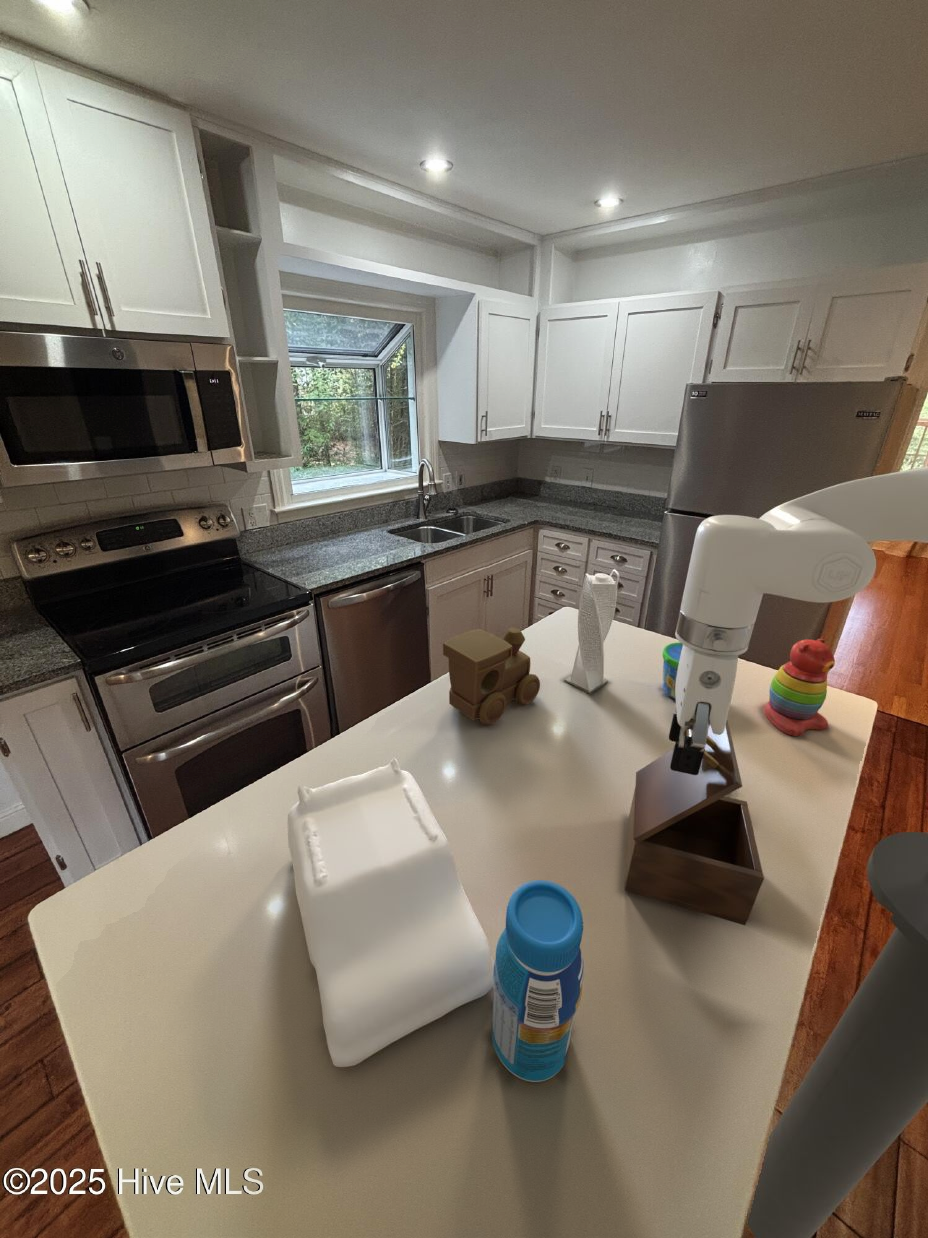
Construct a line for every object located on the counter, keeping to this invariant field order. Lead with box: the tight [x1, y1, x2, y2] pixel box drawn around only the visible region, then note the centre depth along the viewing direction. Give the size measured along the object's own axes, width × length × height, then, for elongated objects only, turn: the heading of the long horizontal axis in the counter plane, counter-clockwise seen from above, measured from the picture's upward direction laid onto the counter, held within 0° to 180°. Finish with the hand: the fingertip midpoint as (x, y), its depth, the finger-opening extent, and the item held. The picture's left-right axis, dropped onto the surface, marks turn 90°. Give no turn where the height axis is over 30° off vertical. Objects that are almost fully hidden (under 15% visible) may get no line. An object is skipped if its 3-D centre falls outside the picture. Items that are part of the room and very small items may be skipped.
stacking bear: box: [763, 638, 836, 737], centre depth 99 cm, size 11×10×18 cm
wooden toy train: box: [442, 627, 541, 726], centre depth 102 cm, size 20×11×17 cm, turn 131°
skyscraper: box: [563, 568, 621, 694], centre depth 107 cm, size 8×8×28 cm
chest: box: [624, 785, 765, 926], centre depth 69 cm, size 15×13×9 cm
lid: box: [633, 719, 743, 843], centre depth 65 cm, size 16×13×5 cm
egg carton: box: [287, 757, 495, 1068], centre depth 61 cm, size 19×30×13 cm, turn 26°
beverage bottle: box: [490, 879, 585, 1083], centre depth 48 cm, size 8×8×20 cm
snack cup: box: [662, 641, 683, 700], centre depth 108 cm, size 16×10×10 cm
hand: (682, 754), depth 63 cm, fingers closed on lid, 5 cm apart
